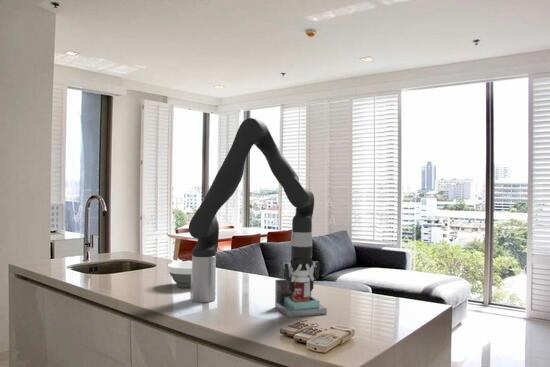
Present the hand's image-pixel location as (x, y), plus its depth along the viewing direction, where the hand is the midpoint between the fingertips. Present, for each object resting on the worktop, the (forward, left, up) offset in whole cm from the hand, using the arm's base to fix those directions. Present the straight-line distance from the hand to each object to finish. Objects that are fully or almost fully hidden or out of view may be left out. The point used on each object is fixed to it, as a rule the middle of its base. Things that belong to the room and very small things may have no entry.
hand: (301, 291), depth 156 cm
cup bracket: (0, +1, -7) cm, 7 cm away
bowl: (-31, +55, -7) cm, 63 cm away
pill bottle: (0, 0, -4) cm, 4 cm away
